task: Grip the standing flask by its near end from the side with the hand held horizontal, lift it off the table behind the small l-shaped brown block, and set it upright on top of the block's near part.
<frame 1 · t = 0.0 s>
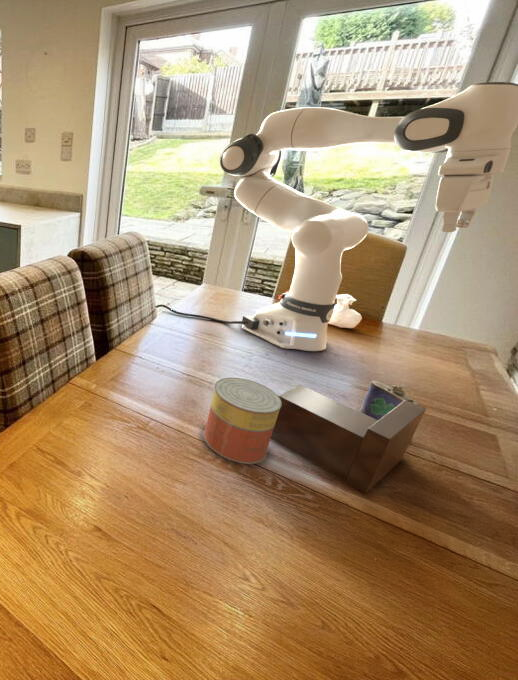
hand: (455, 229, 89), 39 cm above the table, tool pointing down, fingers open, 8 cm apart
l-shaped brown block: (322, 442, 80), on the table
bust: (335, 323, 133), on the table
flask: (380, 428, 85), on the table
canned food: (233, 443, 80), on the table
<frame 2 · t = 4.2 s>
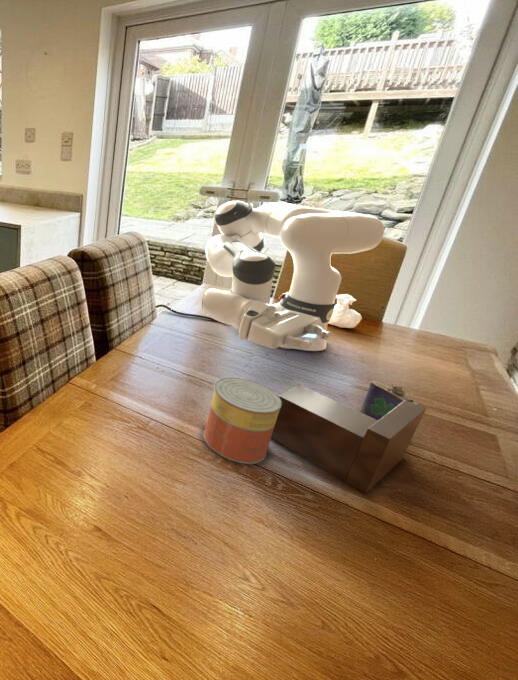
hand: (320, 341, 92), 14 cm above the table, tool horizontal, fingers open, 8 cm apart
nothing on the table moved.
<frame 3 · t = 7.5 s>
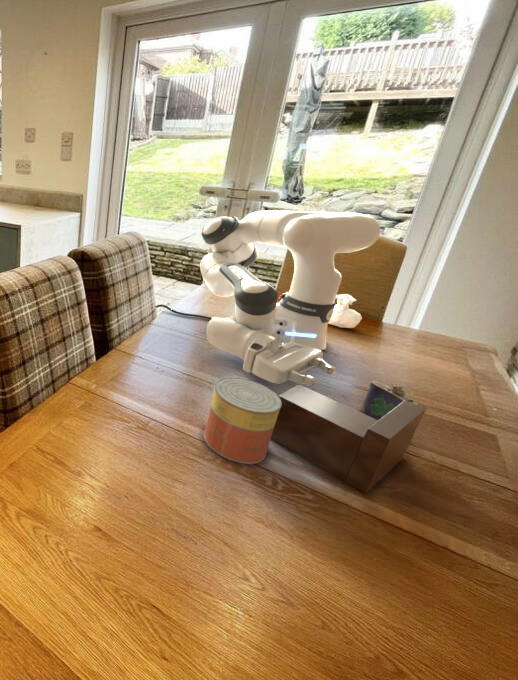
hand: (324, 377, 92), 6 cm above the table, tool horizontal, fingers open, 8 cm apart
nothing on the table moved.
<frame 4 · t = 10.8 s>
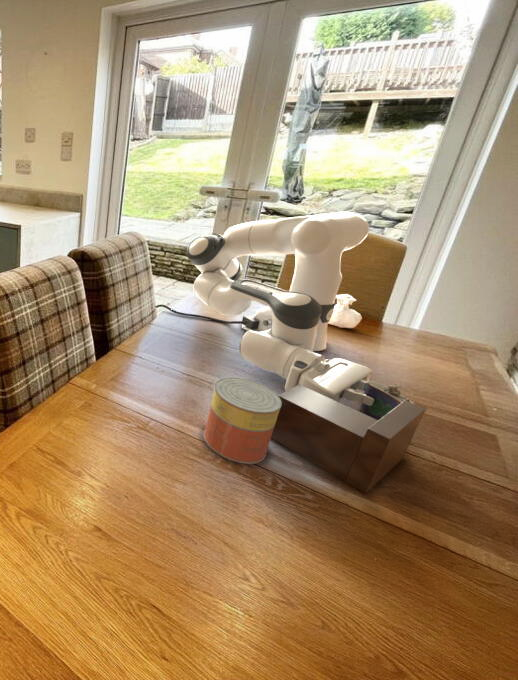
hand: (378, 399, 84), 6 cm above the table, tool horizontal, fingers closed on flask, 3 cm apart
flask: (380, 427, 85), on the table, touching gripper
everything else where it was.
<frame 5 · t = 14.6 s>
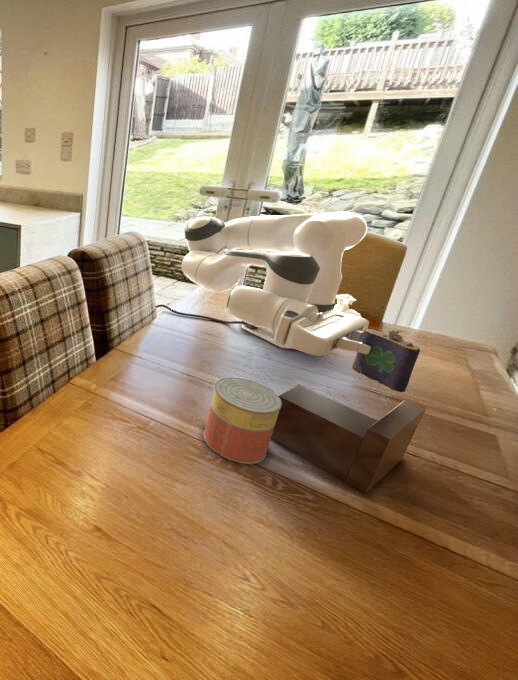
hand: (375, 347, 77), 20 cm above the table, tool horizontal, fingers closed on flask, 3 cm apart
flask: (377, 379, 77), point 14 cm above the table, touching gripper
everything else where it was.
when the fingers open (16 cm above the table, at t = 18.2 s): flask stays where it is, resting on l-shaped brown block.
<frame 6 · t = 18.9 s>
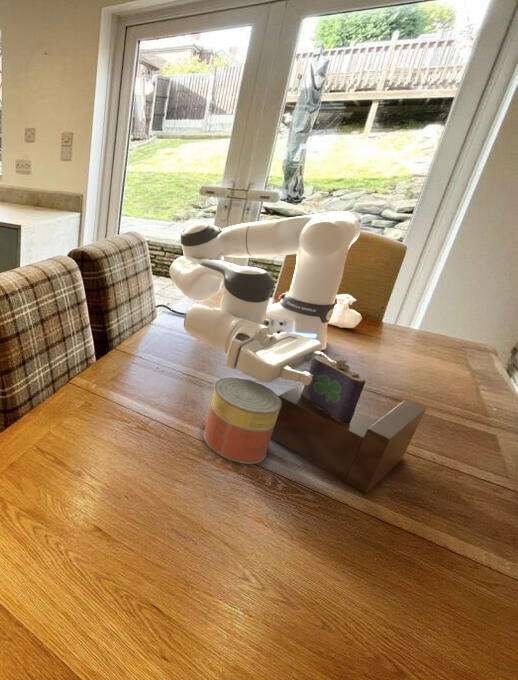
hand: (324, 374, 74), 16 cm above the table, tool horizontal, fingers open, 8 cm apart
flask: (324, 409, 75), point 10 cm above the table, touching l-shaped brown block
everything else where it was.
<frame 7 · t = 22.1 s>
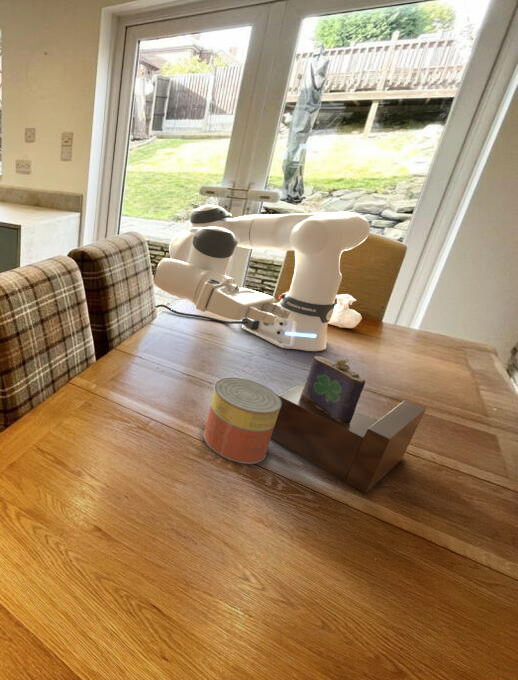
hand: (282, 318, 82), 23 cm above the table, tool horizontal, fingers open, 8 cm apart
nothing on the table moved.
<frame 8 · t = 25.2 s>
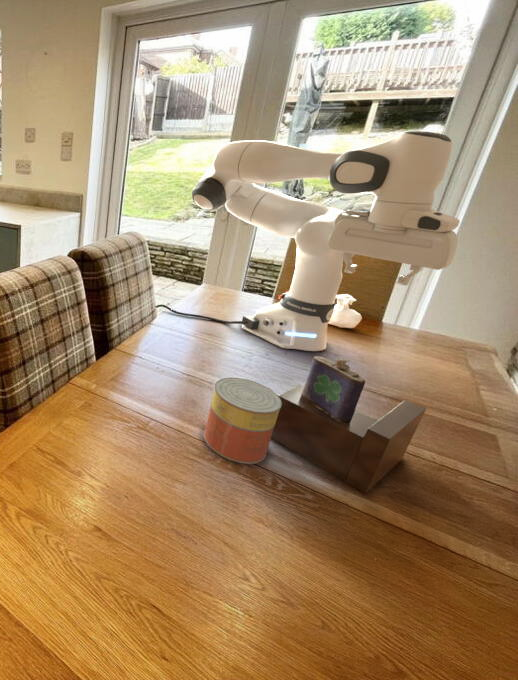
hand: (374, 278, 87), 29 cm above the table, tool pointing down, fingers open, 8 cm apart
nothing on the table moved.
at the end: flask inside the target area (0.6 cm from its centre), point 9.8 cm above the table; flask tilted 0°; the gripper is holding nothing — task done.
